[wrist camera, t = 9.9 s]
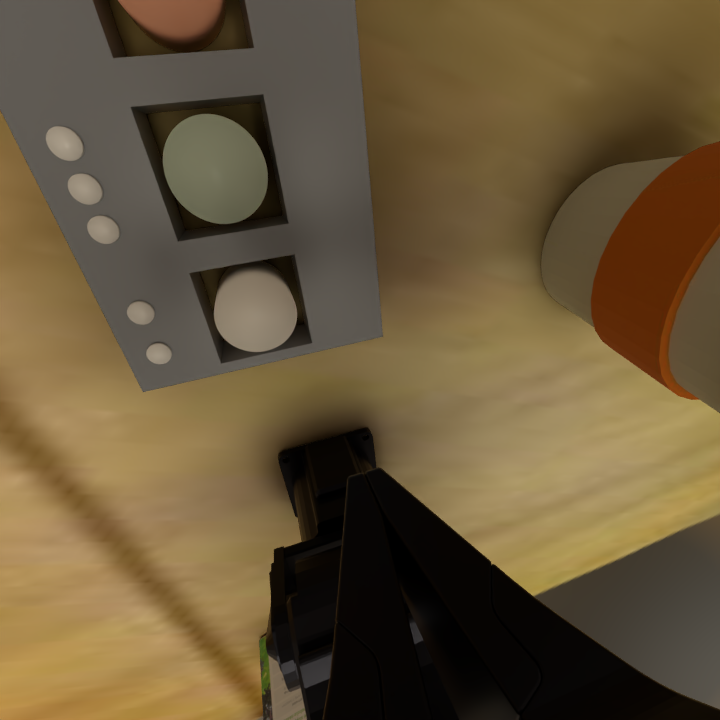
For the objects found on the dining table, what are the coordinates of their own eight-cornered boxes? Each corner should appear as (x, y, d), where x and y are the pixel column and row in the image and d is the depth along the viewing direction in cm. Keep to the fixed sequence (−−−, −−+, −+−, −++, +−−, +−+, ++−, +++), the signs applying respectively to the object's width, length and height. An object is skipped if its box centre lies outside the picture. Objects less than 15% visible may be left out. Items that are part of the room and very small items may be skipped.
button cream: (295, 319, 20) (303, 342, 18) (229, 333, 20) (227, 359, 17) (281, 254, 18) (288, 269, 16) (207, 266, 18) (202, 285, 15)
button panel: (368, 319, 22) (384, 338, 19) (153, 366, 19) (142, 394, 17) (323, -128, 13) (341, -189, 11) (-81, -136, 11) (-169, -215, 8)
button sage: (271, 207, 17) (277, 216, 15) (192, 219, 17) (183, 231, 14) (252, 116, 15) (254, 108, 13) (161, 125, 15) (145, 119, 12)
